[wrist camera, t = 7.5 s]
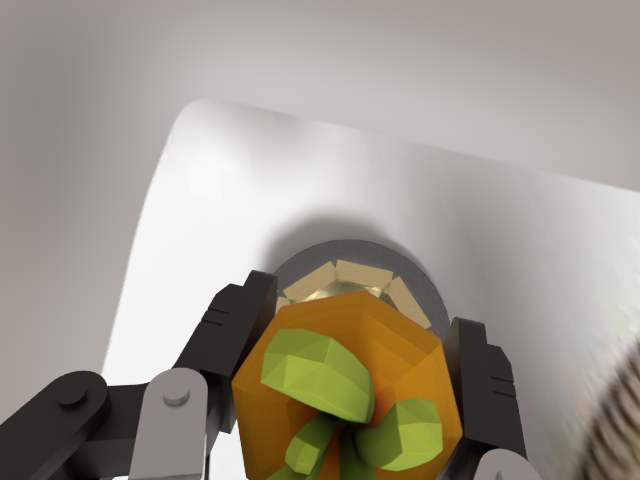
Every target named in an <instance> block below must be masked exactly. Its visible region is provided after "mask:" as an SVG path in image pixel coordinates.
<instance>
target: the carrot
mask: <svg viewBox="0 0 640 480" xmlns="http://www.w3.org/2000/svg"><path fill="white" fill-rule="evenodd" d="M231 383H232V390H233V396H234V403H235V409H236V415H237V422H238V428H239V435H240V441H241V447H242V454H243V460H244V467H245V473H246V478H247V479H249V480H436V479H437V477H438V475H439V474H440V472H441V470H442V469H443V467H444V465H445V464H446V462H447V460H448V459H449V457H450V455H451V454H452V452H453V450H454V449H455V447H456V445H457V444H458V442H459V440H460V439H461V437H462V434H463V430H462V426H461V422H460V418H459V414H458V409H457V405H456V401H455V397H454V393H453V389H452V384H451V380H450V376H449V372H448V368H447V364H446V359H445V355H444V351H443V347H442V343H441V339H440V338H438V337H437V336H435V335H434V334H432V333H431V332H429V331H428V330H426V329H425V328H423V327H422V326H420V325H419V324H417V323H416V322H414V321H413V320H411V319H410V318H408V317H407V316H405V315H404V314H402V313H400V312H399V311H397V310H396V309H394V308H393V307H391V306H390V305H388V304H387V303H385V302H384V301H382V300H381V299H379V298H378V297H376V296H375V295H373V294H372V293H370V292H369V291H367V290H366V289H364V290H359V291H354V292H349V293H344V294H339V295H334V296H329V297H324V298H319V299H314V300H309V301H305V302H300V303H295V304H290V305H285V306H282V307H281V308H280V309H279V311H278V312H277V314H276V315H275V317H274V318H273V320H272V321H271V323H270V324H269V325H268V327H267V328H266V330H265V331H264V333H263V334H262V336H261V337H260V339H259V340H258V342H257V343H256V345H255V346H254V348H253V349H252V351H251V352H250V354H249V355H248V357H247V358H246V360H245V361H244V363H243V364H242V366H241V367H240V369H239V370H238V372H237V373H236V375H235V376H234V378H233V379H232V381H231Z"/></svg>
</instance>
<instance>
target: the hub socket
mask: <svg viewBox="0 0 640 480" xmlns="http://www.w3.org/2000/svg"><path fill="white" fill-rule="evenodd" d="M273 275H277V276H278V289H277V301H276V313H275V315H276V314H277V312H278V311H279V309H280V308H281V307H282V306H285V305H290V304H295V303H300V302H305V301H309V300H314V299H319V298H324V297H329V296H334V295H339V294H344V293H349V292H354V291H359V290H364V289H366V290H367V291H369V292H370V293H372V294H373V295H375V296H376V297H378V298H379V299H381V300H382V301H384V302H385V303H387V304H388V305H390V306H391V307H393V308H394V309H396V310H397V311H399V312H400V313H402V314H404V315H405V316H407V317H408V318H410V319H411V320H413V321H414V322H416V323H417V324H419V325H420V326H422V327H423V328H425V329H426V330H428V331H429V332H431V333H432V334H434V335H435V336H437V337H438V338H440V339H441V343H442V345H443V343H444V341H445V338H446V336H447V333H448V331H449V329H450V322H449V318H448V315H447V311H446V308H445V306H444V304H443V301H442V299H441V297H440V295H439V293H438V292H437V290H436V288H435V287H434V285H433V284H432V283H431V281H430V280H429V279H428V277H427V276H426V275H425V274H424V273H423V272H422V271H421V270H420V269H419V268H418V267H417V266H416V265H415V264H414V263H412V262H411V261H410V260H409V259H407V258H406V257H404V256H403V255H401V254H399V253H398V252H396V251H394V250H392V249H389V248H387V247H385V246H382V245H379V244H375V243H372V242H367V241H360V240H337V241H330V242H326V243H322V244H318V245H315V246H313V247H310V248H308V249H306V250H304V251H302V252H300V253H298V254H296V255H295V256H293V257H292V258H291V259H289V260H288V261H286V262H285V263H284V264H283V265H282V266H281V267H280V268H279V269H278V270H277V271H276V272H275V273H274V274H273Z"/></svg>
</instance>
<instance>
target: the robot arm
mask: <svg viewBox="0 0 640 480" xmlns="http://www.w3.org/2000/svg"><path fill="white" fill-rule="evenodd" d="M277 289H278V276H277V275H273V274H269V273H264V272H260V271H256V270H252V271H251V272H250V274H249V276H248V278H247V280H246V282H245V283H244V285H243V286H239V285H235V284H231V283H230V284H229V285H228V286H226V287H225V288H223V289H222V290H221V291H219V292H218V293H217V294H216V295H215V297H214V298H213V300H212V302H211V304H210V305H209V307H208V310H206V312H205V314H204V315H203V317H202V319H201V322H199V324H198V326H197V327H196V329H195V331H194V332H193V334H192V336H191V337H190V339H189V341H188V343H187V344H186V346H185V348H184V349H183V351H182V353H181V354H180V356H179V358H178V360H177V361H176V363H175V364H174V366H173V367H172V368H171V369H169V370H167V371H164V372H162V373H160V374H159V375H157V376H156V377H155V378H154V379H153V380H152V381H151V382H148V383H144V384H137V385H119V386H107V383H106V382H105V380H104V379H103V377H102V376H100V375H99V374H96V373H95V372H91V371H76V372H71V373H68V374H65V375H63V376H61V377H59V378H57V379H55V380H54V381H53V382H51V383H50V384H49V385H48V386H46V387H45V388H44V389H43V390H42V391H40V392H39V393H38V394H37V395H36V396H34V397H33V398H32V399H31V400H30V401H28V402H27V403H26V404H25V405H24V406H22V407H21V408H20V409H19V410H18V411H17V412H16V413H14V414H13V415H12V416H11V417H10V418H8V419H7V420H6V421H5V422H3V423H2V424H1V425H0V480H112V479H113V478H114V477H119V476H129V477H128V480H210V467H211V450H212V448H213V445H214V443H215V441H216V438H217V436H218V433H219V431H221V432H225V433H228V434H231V431H232V429H233V426H234V424H235V421H236V419H237V415H236V409H235V403H234V396H233V390H232V383H231V381H232V379H233V378H234V376H235V375H236V373H237V372H238V370H239V369H240V367H241V366H242V364H243V363H244V361H245V360H246V358H247V357H248V355H249V354H250V352H251V351H252V349H253V348H254V346H255V345H256V343H257V342H258V340H259V339H260V337H261V336H262V334H263V333H264V331H265V330H266V328H267V327H268V325H269V324H270V323H271V321H272V320H273V318H274V317H275V313H276V301H277ZM442 347H443V351H444V355H445V359H446V364H447V368H448V372H449V376H450V380H451V384H452V389H453V393H454V397H455V401H456V405H457V409H458V414H459V418H460V422H461V426H462V430H463V434H462V437H461V439H460V440H459V442H458V444H457V445H456V447H455V449H454V450H453V452H452V454H451V455H450V457H449V459H448V460H447V462H446V464H445V465H444V467H443V469H442V470H441V472H440V474H439V475H438V477H437V479H436V480H542V479H541V477H540V475H539V473H538V472H537V471H536V469H535V468H534V467H533V466H532V465H531V464H530V463H529V461H528V459H527V455H526V450H525V444H524V438H523V433H522V427H521V421H520V415H519V409H518V403H517V400H516V392H515V386H514V385H513V382H514V380H513V374H512V369H511V364H510V362H509V360H508V359H507V357H506V356H505V354H504V352H503V351H502V349H501V347H498V346H494V345H490V344H487V339H486V330H485V325H484V324H483V323H480V322H476V321H472V320H467V319H463V318H458V317H455V318H454V320H453V322H452V324H451V326H450V329H449V331H448V333H447V336H446V338H445V341H444V343H443V345H442Z"/></svg>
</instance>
